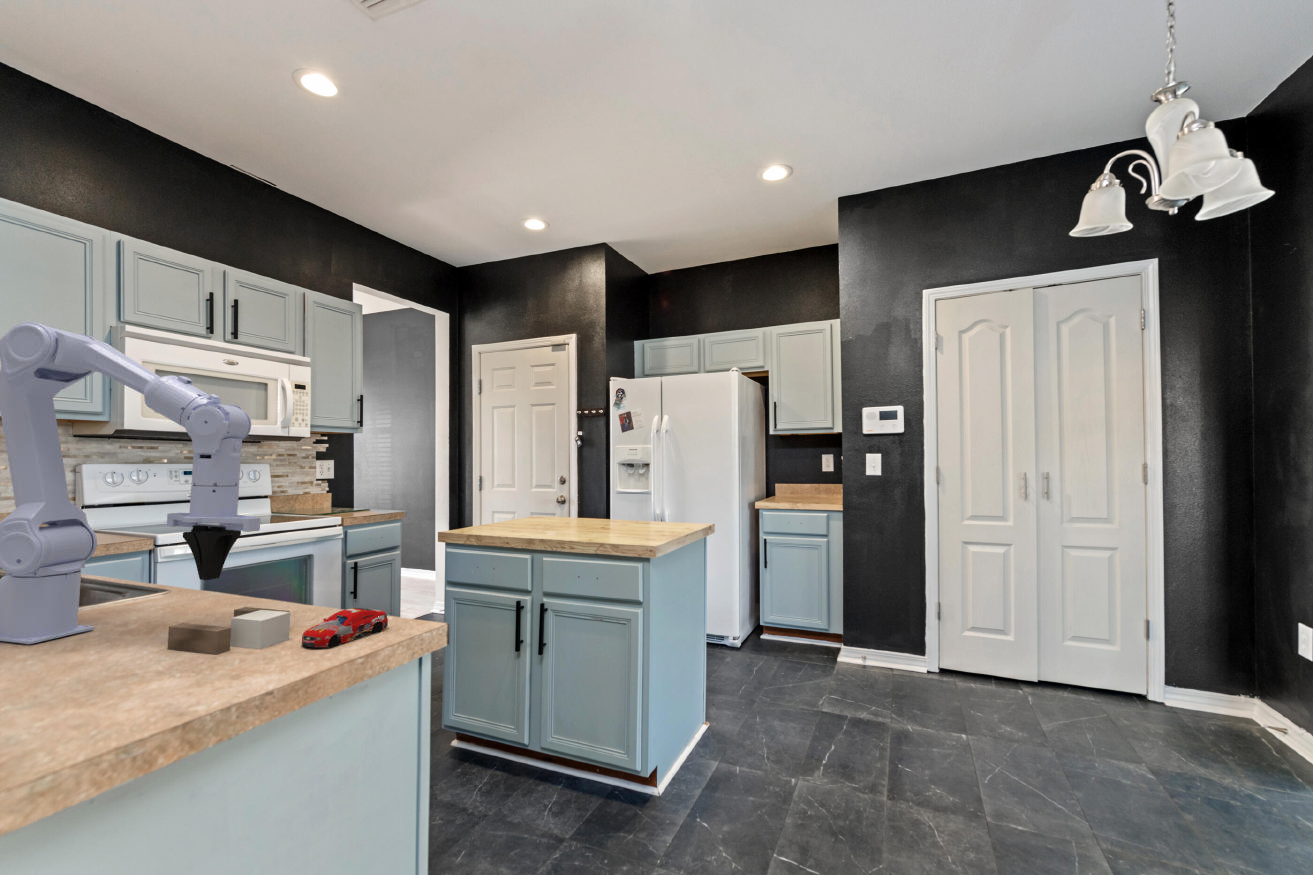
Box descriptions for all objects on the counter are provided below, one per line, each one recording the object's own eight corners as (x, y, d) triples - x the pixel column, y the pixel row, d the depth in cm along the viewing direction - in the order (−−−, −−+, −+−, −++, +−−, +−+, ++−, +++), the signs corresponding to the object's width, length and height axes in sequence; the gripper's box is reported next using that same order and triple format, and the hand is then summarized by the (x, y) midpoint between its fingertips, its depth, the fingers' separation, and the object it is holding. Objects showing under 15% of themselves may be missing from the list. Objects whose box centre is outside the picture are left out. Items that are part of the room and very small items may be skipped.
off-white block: (229, 646, 85) (231, 617, 85) (259, 637, 89) (261, 609, 90) (259, 650, 83) (261, 620, 84) (288, 640, 88) (290, 612, 89)
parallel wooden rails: (167, 648, 82) (168, 626, 83) (244, 626, 94) (245, 606, 94) (216, 654, 81) (217, 631, 81) (288, 630, 92) (289, 610, 93)
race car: (320, 654, 83) (321, 624, 83) (291, 649, 85) (292, 620, 85) (394, 630, 95) (395, 604, 95) (367, 626, 97) (368, 600, 97)
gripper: (148, 484, 87) (141, 579, 87) (232, 488, 84) (225, 587, 84) (195, 483, 94) (189, 571, 94) (274, 486, 91) (268, 578, 91)
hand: (209, 578), depth 89 cm, fingers closed
